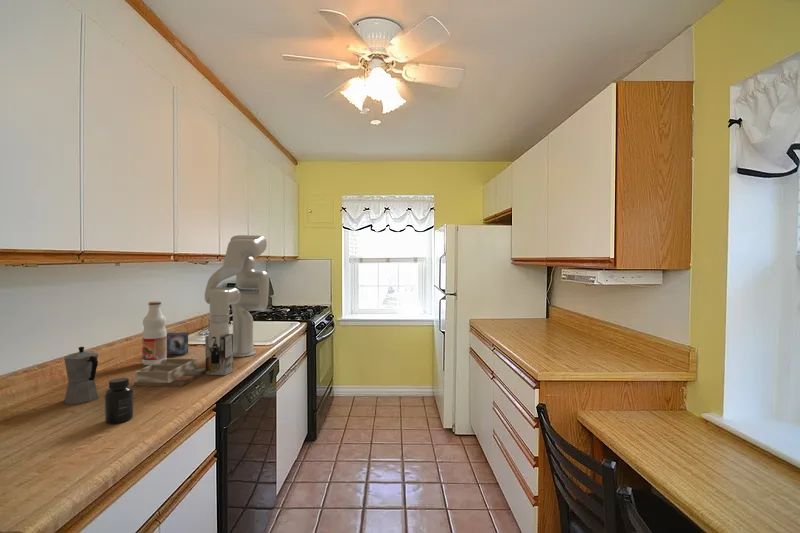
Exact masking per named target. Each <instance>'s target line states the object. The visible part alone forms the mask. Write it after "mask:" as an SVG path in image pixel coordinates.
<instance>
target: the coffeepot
mask: <svg viewBox="0 0 800 533" xmlns="http://www.w3.org/2000/svg"><path fill="white" fill-rule="evenodd" d="M98 357H99V354H98V352H94V351H93V352H92V351H85V347H84V346H79V347H78V352H76V353H70V354H69V353H68V355H66V356H63V359H64V364H65V368H66V370H65V371H66V374H67V378H68V379H67V380H68V382H67V385H66V391H65V395H64V404H65V405H79V404H80V403H81V404H85V402H86V403H89V401H90V402H92V401H95V400H97V399H98V398H99V395H98V390H97V386H96V381H95V376H96V374H97V368H98V364H99V360H98ZM94 399H95V400H94ZM81 404H80V405H81Z"/></svg>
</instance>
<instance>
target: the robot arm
mask: <svg viewBox="0 0 800 533" xmlns="http://www.w3.org/2000/svg"><path fill="white" fill-rule="evenodd" d="M267 245H268V244H267V239H266V237H265V236H263V235H253V234H252V235H250V234H246V235H245V234H242V235H241V234H238V235H233V236H232V237H231V238H230V240H229V242H228V244H227V247H226V250H225V251H226V252H225V256H224V258H223V259H224V260H223V264H222V266H221V267H220V268H219V269H217V270H216V271H215V272H214V273H212V274H211V275H210V277H209V279H208V280H207V284H206V286H205V291H204V301H205V302H206V304H209V326H208V327H209V328H208V333H207V336H208V347H209V349H210V352H211V363H212V364H218V363H219V354H218V353H219V347H220V346H221V337H223V336H225V335H227V334H230V326H229V325H230V324H229V323H230V306H231V310H232V334H233V358H241V357H242V358H244V357H245V356H246V357H249V356H251V357H252V356H253V355H256V354H257V350H256V349H254V345H255V343H254V318H253V315H252V314H251V313H250V311H265V310H266V309H267V308H268V304H269V295H270V294H269V293H270V292H269V291H270V276H269V274H268V271H267V272H266V271H265V270H255V265H256V261H255V258H258V257H259V256H261V255H262V254H263V253H264V252H265V251H266V249H267ZM232 277H235V286H236V287H224V286H223V287H219V286H218V285H219V284H220V283H222V281H224V280H226V279H230V278H232ZM239 289H240V290H241V289H242V290H258V291H240V290H239ZM215 344H217V346H214V345H215ZM214 348H217V350H216V349H214Z"/></svg>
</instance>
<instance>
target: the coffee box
mask: <svg viewBox="0 0 800 533" xmlns="http://www.w3.org/2000/svg"><path fill="white" fill-rule="evenodd" d="M204 339H205V341H204V343H205V344H204V345H205V347H204V348H205V352H204V353H205V354H204V355H205V368H206V373H205V375H207V376H208V375H211V376H228V375H229V374H230V373H233V372H234V357H233V333H229V334H227V335H225V336H223V337H221V346H220V347H219V353H218V354H219V363H218V364H212V363H211V352H210V349H209V347H208V335H206V336H205V337H204ZM214 346H217V344H215V345H214ZM214 349H216V350H217V348H214Z"/></svg>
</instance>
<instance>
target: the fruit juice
mask: <svg viewBox="0 0 800 533" xmlns="http://www.w3.org/2000/svg"><path fill="white" fill-rule="evenodd" d="M161 306H162V301H148V307H149V308H148V312H147V314H146V316H144V318H143V319H142V325H143V330H142V335H141V336H142V341H141V342H142V344H141V345H142V348H141V349H142V350H141V351H142V356H141V358H142V360H141V361H142V364H143V365H144V366H150V365H152V364H154V363H157V362H159V361H161V360H164V359H166V358H167V357H168V356H167V333H168V332H167V331H168V330H167V327H166V325H167V317H166V316H165V315H164V314H163V312H162V308H161Z"/></svg>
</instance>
